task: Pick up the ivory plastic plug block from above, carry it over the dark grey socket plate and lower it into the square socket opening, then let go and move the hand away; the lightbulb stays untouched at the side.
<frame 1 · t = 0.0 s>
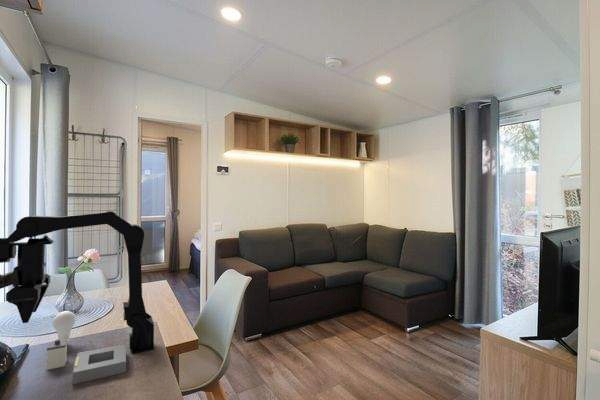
hand: (29, 317, 86), 15 cm above the table, tool pointing down, fingers open, 9 cm apart
lightbulb: (63, 345, 101), on the table
socket: (101, 367, 88), on the table
plug: (56, 364, 89), on the table
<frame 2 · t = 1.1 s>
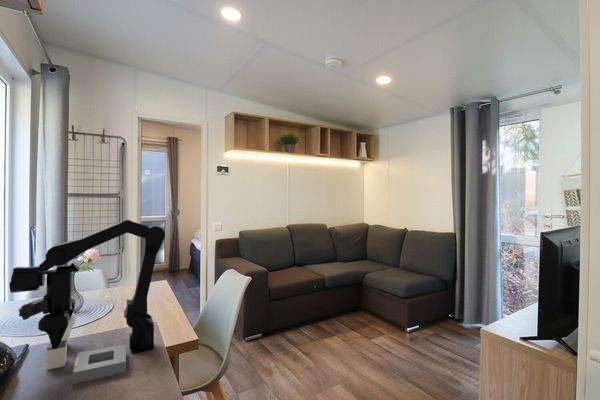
hand: (58, 342, 89), 6 cm above the table, tool pointing down, fingers open, 9 cm apart
nothing on the table moved.
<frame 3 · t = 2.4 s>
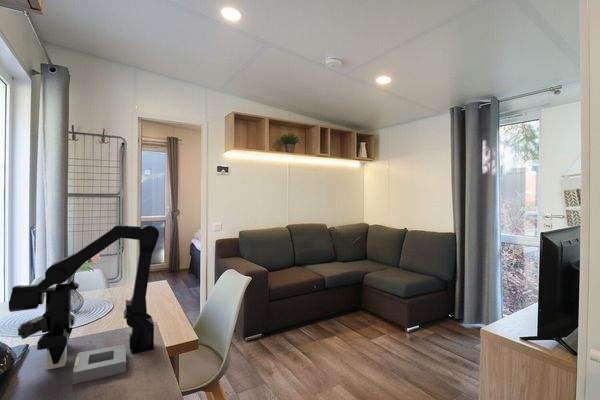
hand: (57, 360, 89), 1 cm above the table, tool pointing down, fingers closed on plug, 4 cm apart
plug: (56, 364, 89), on the table, touching gripper
everything else where it was.
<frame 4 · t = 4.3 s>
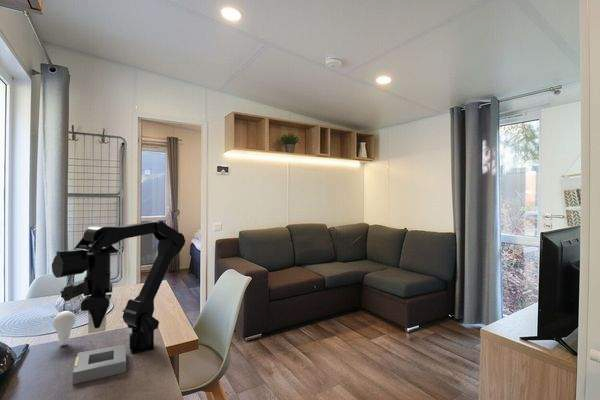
hand: (97, 325, 88), 12 cm above the table, tool pointing down, fingers closed on plug, 4 cm apart
plug: (97, 329, 88), point 11 cm above the table, touching gripper
everything else where it was.
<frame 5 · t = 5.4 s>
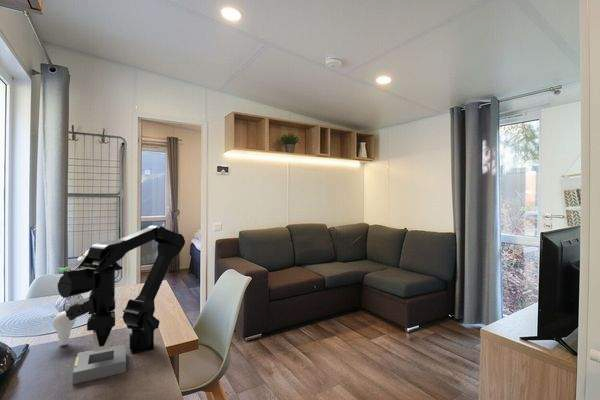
hand: (102, 343, 88), 7 cm above the table, tool pointing down, fingers closed on plug, 4 cm apart
plug: (101, 347, 88), point 6 cm above the table, touching gripper
everything else where it was.
when the fingers open (3 cm above the table, at t = 6.3 s): plug drops 2 cm, resting in socket.
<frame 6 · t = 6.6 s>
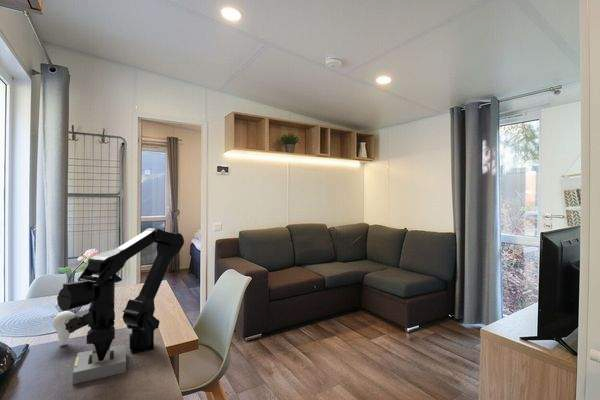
hand: (101, 355, 88), 3 cm above the table, tool pointing down, fingers open, 7 cm apart
plug: (101, 367, 88), resting in socket
everything else where it was.
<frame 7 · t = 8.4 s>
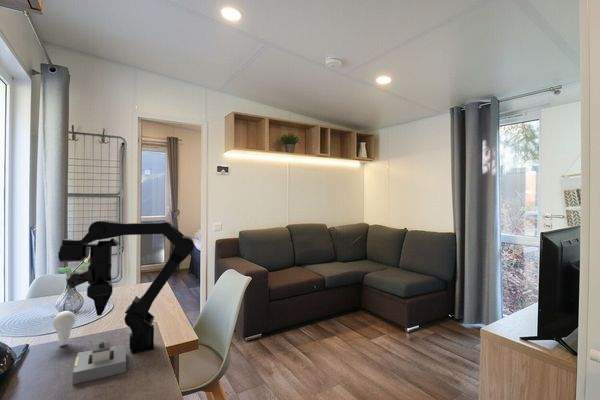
hand: (99, 310, 97), 13 cm above the table, tool pointing down, fingers open, 9 cm apart
nothing on the table moved.
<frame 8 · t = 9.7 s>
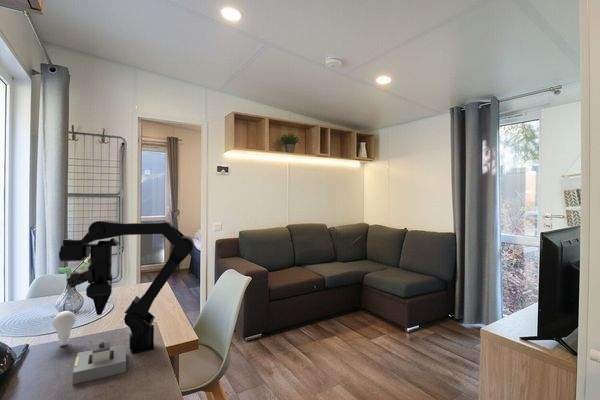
hand: (99, 310, 97), 13 cm above the table, tool pointing down, fingers open, 9 cm apart
nothing on the table moved.
at the end: plug 0.0 cm off-centre on the socket, point 0.0 cm above the socket's base; the gripper is holding nothing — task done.
